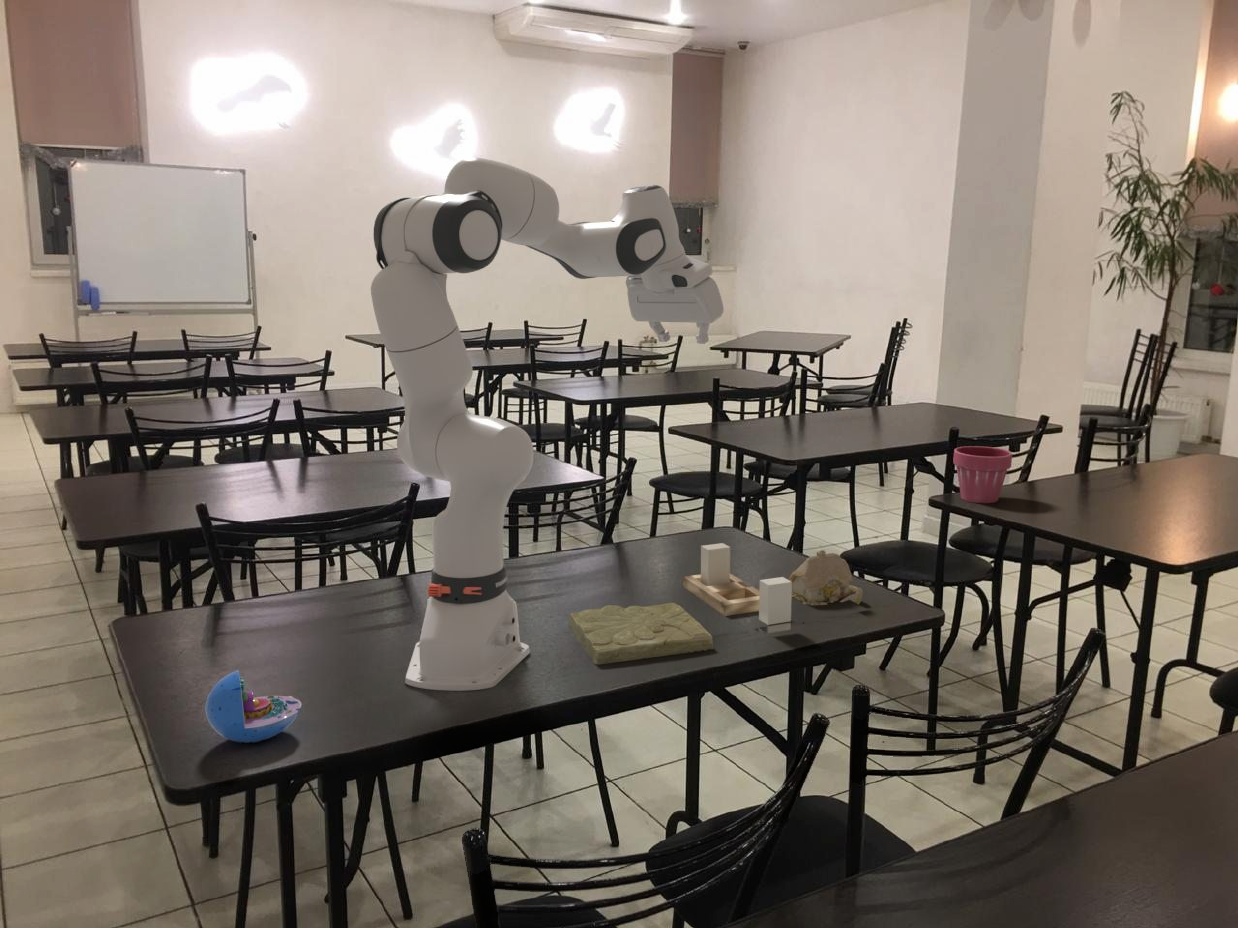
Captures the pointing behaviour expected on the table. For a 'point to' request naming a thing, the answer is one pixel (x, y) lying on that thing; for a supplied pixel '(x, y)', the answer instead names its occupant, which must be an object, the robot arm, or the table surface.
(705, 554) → the white upright prism
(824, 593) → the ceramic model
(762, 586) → the white rectangular block
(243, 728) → the cell model
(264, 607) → the table surface
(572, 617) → the decorative tile
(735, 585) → the rack
